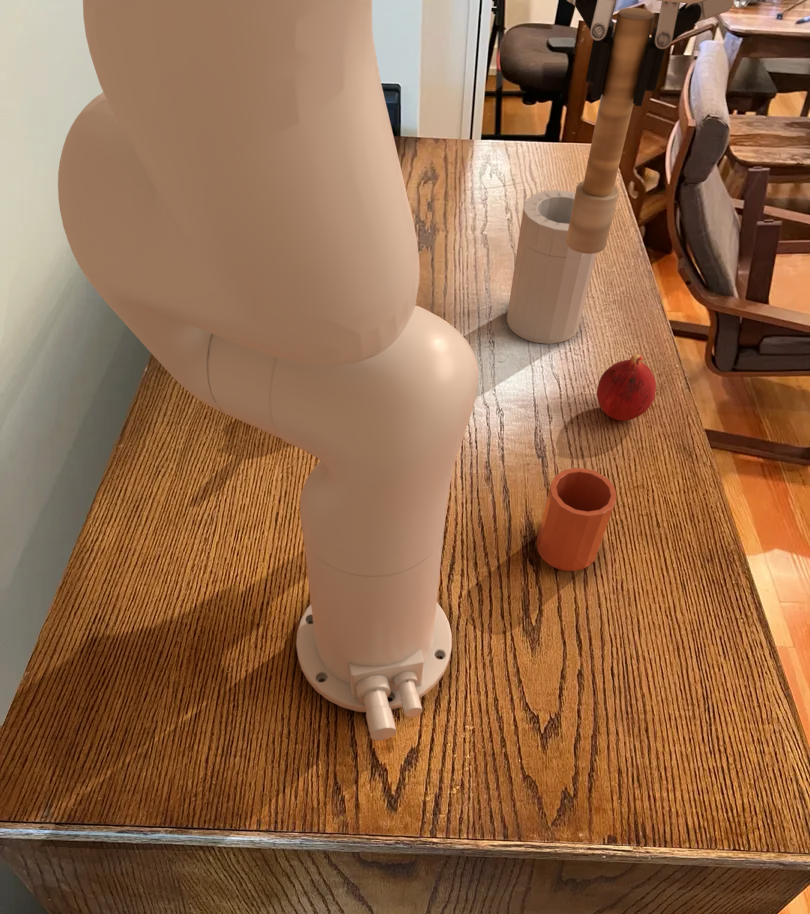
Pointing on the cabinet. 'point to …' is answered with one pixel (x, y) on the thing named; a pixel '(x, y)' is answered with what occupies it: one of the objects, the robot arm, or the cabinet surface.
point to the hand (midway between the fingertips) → (618, 94)
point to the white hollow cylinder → (548, 272)
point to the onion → (626, 389)
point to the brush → (609, 134)
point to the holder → (575, 518)
